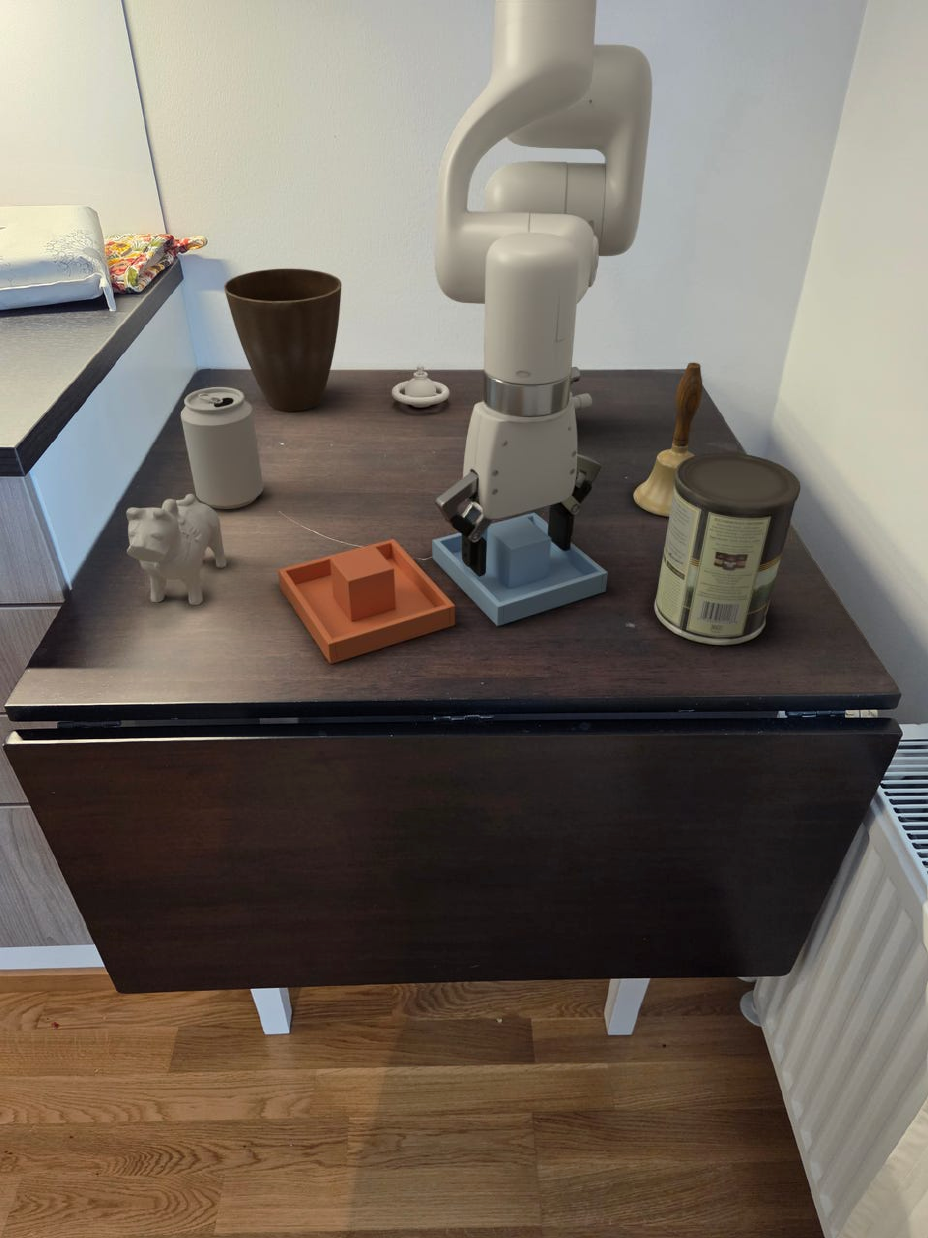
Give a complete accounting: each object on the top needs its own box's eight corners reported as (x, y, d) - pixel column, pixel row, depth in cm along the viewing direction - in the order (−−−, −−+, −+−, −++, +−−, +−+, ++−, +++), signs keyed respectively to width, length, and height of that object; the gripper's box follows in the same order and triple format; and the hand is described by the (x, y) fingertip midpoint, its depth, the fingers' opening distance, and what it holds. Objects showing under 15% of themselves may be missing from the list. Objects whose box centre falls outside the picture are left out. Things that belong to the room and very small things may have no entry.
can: (248, 516, 96) (232, 412, 89) (185, 508, 97) (164, 406, 90) (274, 484, 102) (260, 385, 95) (214, 478, 103) (196, 380, 96)
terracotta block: (376, 585, 84) (374, 545, 82) (396, 608, 81) (394, 568, 79) (333, 597, 83) (329, 557, 80) (351, 622, 79) (348, 581, 77)
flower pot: (364, 387, 126) (356, 272, 117) (328, 428, 115) (316, 304, 105) (267, 377, 129) (253, 264, 120) (223, 417, 117) (203, 295, 108)
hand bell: (720, 499, 100) (748, 362, 90) (682, 526, 95) (708, 384, 85) (658, 476, 104) (678, 344, 95) (619, 501, 99) (636, 363, 90)
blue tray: (533, 530, 94) (534, 512, 93) (605, 591, 85) (608, 572, 83) (432, 558, 89) (431, 539, 88) (497, 626, 80) (498, 607, 78)
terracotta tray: (394, 557, 89) (393, 538, 88) (455, 625, 80) (455, 605, 79) (280, 588, 85) (277, 569, 83) (330, 664, 75) (328, 644, 74)
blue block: (524, 555, 89) (526, 517, 86) (548, 577, 86) (551, 537, 83) (486, 566, 87) (487, 527, 84) (509, 589, 84) (511, 549, 81)
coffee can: (728, 575, 87) (757, 444, 79) (787, 635, 79) (826, 497, 71) (634, 591, 85) (654, 458, 76) (685, 655, 77) (713, 514, 68)
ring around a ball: (382, 410, 119) (437, 418, 117) (381, 369, 116) (437, 377, 114) (404, 391, 125) (457, 399, 123) (404, 352, 122) (457, 359, 120)
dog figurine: (130, 626, 80) (102, 524, 73) (183, 551, 90) (162, 457, 83) (186, 630, 79) (162, 528, 73) (233, 555, 89) (215, 460, 83)
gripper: (583, 359, 82) (569, 519, 92) (417, 392, 75) (421, 560, 85) (632, 386, 76) (611, 552, 86) (458, 424, 70) (458, 600, 80)
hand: (517, 556), depth 86 cm, fingers open, 9 cm apart
